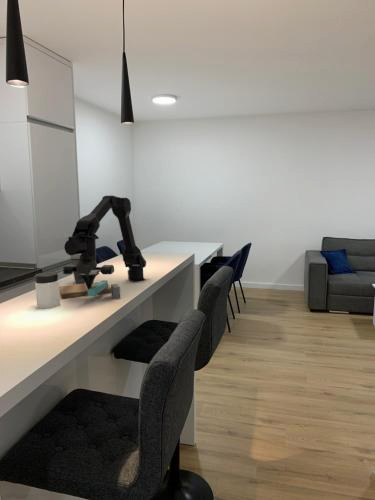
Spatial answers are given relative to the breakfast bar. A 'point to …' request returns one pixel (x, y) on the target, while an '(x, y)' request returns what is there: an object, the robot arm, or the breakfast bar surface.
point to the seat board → (79, 290)
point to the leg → (97, 288)
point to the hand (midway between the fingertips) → (89, 291)
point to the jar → (47, 290)
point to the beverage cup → (77, 278)
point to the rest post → (115, 291)
